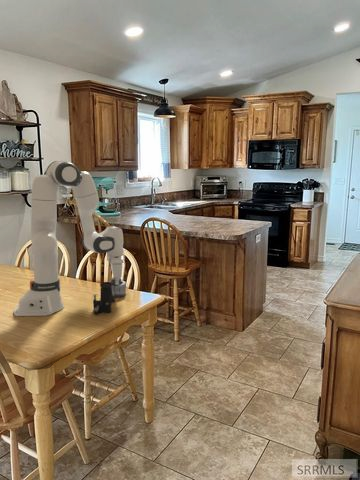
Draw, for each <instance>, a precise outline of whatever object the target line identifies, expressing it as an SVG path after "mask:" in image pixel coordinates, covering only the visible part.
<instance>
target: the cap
mask: <svg viewBox="0 0 360 480" xmlns="http://www.w3.org/2000/svg"><path fill="white" fill-rule="evenodd" d="M121 280H122V277H121V278H119V285H120V284H121ZM110 281H111V283H112V285H116V284H115V278H113V277H112V278H111V279H110Z"/></svg>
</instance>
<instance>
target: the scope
mask: <svg viewBox="0 0 360 480" xmlns="http://www.w3.org/2000/svg"><path fill="white" fill-rule="evenodd" d="M111 286H112V283H110V282H109V281H104V282H100V284H99V287H100V298H99V300H98V299H97V295H96V294H93V301H92V303H93V312H94V315H99V314H109V313H111V312H112V304H113V303H115V302H116V298H112V287H111Z"/></svg>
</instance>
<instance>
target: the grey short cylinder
mask: <svg viewBox="0 0 360 480" xmlns="http://www.w3.org/2000/svg"><path fill="white" fill-rule="evenodd" d="M108 282H110V283H111V280H109V281H108ZM111 287H112V298H114V299H117V298H118V297H119V298H122V297H125V296H127V283H126V281H124V280H123V279H121V284H120V285H112V286H111ZM119 298H118V299H119Z"/></svg>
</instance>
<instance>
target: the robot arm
mask: <svg viewBox="0 0 360 480" xmlns="http://www.w3.org/2000/svg"><path fill="white" fill-rule="evenodd" d="M44 171H45V172H44V173H43V174H40V175H37V176H35V177H34V179H33V182H32V186H31V193H30V194H31V195H30V196H31V197H30V199H31V200H30V202H31V204H30V205H31V206H30V208H31V210H30V213H31V215H30V220H31V221H30V241H31V250H32V252H31V253H32V255H31V256H32V268H33V269H32V270H33V279H31V280H30V281H29V290H27V291H26V292H25V293H24V294H23V295H22V296H21V297H19V301H18V305H17V306H15V308H14V309H13V314H14V316H16V317H38V316H39V317H40V316H45V317H46V316H50V315H52V314H54V313H57V312H59V311H61V310H63V308H64V307H65V306H64V303H63V300H62V294H61V280H60V278H59V267H58V266H59V265H58V263H59V261H58V258H59V254H58V253H59V251H58V247H59V246H58V239H57V237H56V227H57V216H58V215H57V214H58V213H57V210H58V209H57V208H58V207H57V205H58V204H57V203H58V201H57V200H58V199H57V197H58V196H57V195H58V194H57V192H58V189H59V187H61V186H65V187H66V186H67V187H70V188H71V189H72V192H73V195H74V199H75V202H76V203H75V204H76V207H77V211H78V216H79V221H80V227H81V230H82V232H81V233H82V235H81V236H82V237H81V244H82V246H83V248H84V249H85V250H87V251H91V252H93V253H96V254H105V253H106V261H107V262H109V264H110V270H111V272H112V275H113V277H112V278H115V284H116V285H119V278H121V279H122V276H123V275H122V273H123V264H124V260H125V258H124V257H125V254H124V253H125V251H124V234H123V233H124V232H123V229H122V228H121V227H119V226H112V225H109V226H107V227H106V228H105V229H104V230H103V231H101V232H100V233H98V232H97V231H96V228H95V224H94V219H93V213H94V211H96V210H97V209H98V208H99V205H100V200H99V199H100V198H99V194H98V190H97V186H96V183H95V181H94V179H93V177H92V174H91V173H90V172H88V171H84V170H83V171H80V169H79V168H78V167H77V166H76V165H75V164H73V163H72V162H69V161H65V160H57V161H56V160H55V161H53V162H51V163H50V164H49V165H48V166H47V168H46V169H45V170H44Z"/></svg>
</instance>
